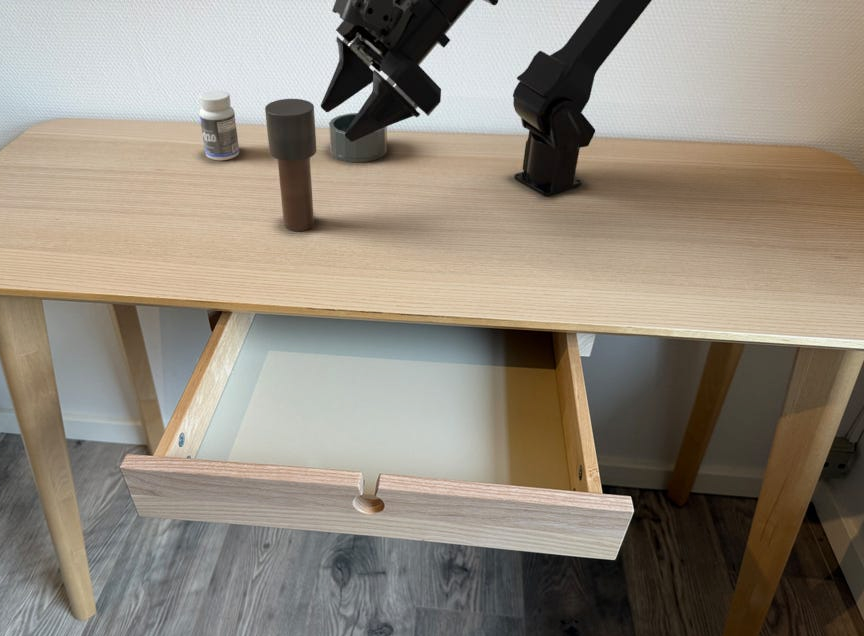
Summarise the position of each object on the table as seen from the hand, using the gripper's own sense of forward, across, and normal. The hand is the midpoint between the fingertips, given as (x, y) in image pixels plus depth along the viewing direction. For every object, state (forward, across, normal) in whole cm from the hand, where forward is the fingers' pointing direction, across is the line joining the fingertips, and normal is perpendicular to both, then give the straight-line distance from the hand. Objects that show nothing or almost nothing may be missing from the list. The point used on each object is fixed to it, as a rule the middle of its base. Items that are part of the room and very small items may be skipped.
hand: (335, 123), depth 79 cm
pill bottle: (+15, -24, +1) cm, 28 cm away
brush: (+12, 0, +5) cm, 13 cm away
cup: (+2, -18, +14) cm, 23 cm away
